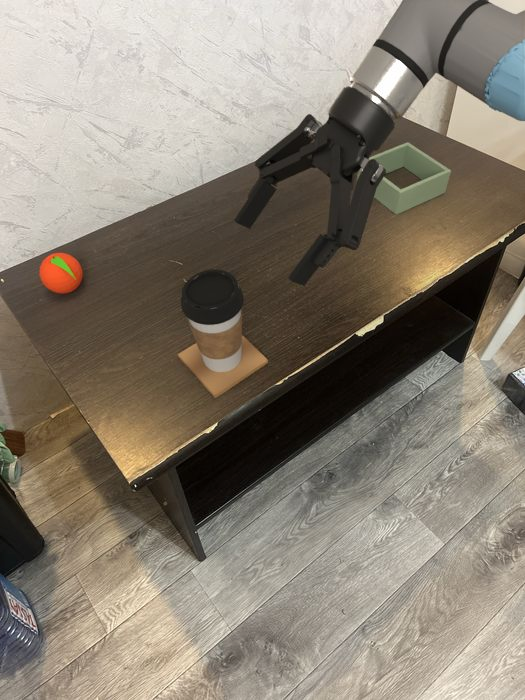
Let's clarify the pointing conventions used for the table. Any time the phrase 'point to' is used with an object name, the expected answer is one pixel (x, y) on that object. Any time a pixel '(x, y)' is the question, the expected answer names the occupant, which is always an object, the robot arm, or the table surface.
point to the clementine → (61, 273)
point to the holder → (420, 166)
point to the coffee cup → (215, 317)
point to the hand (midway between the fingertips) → (267, 252)
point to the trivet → (223, 380)
